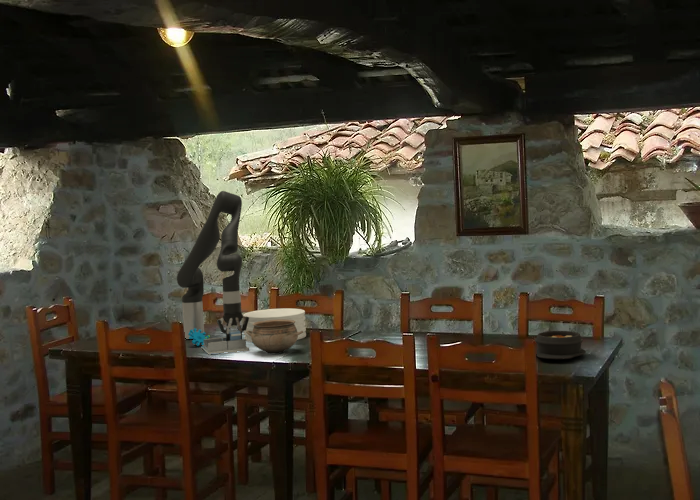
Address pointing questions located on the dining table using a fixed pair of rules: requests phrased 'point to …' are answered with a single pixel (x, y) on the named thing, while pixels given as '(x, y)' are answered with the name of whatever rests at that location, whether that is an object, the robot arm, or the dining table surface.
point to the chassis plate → (224, 345)
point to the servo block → (235, 334)
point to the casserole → (559, 345)
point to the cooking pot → (274, 335)
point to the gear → (197, 336)
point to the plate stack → (276, 315)
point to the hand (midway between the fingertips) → (234, 341)
